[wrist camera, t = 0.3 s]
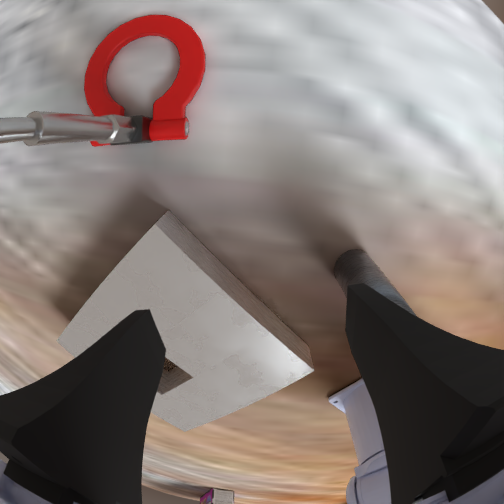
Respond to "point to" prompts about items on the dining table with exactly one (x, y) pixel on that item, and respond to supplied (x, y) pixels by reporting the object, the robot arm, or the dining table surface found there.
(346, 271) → the pin
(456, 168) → the dining table surface
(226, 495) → the candy bar box
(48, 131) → the tow hook
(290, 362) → the bore block
